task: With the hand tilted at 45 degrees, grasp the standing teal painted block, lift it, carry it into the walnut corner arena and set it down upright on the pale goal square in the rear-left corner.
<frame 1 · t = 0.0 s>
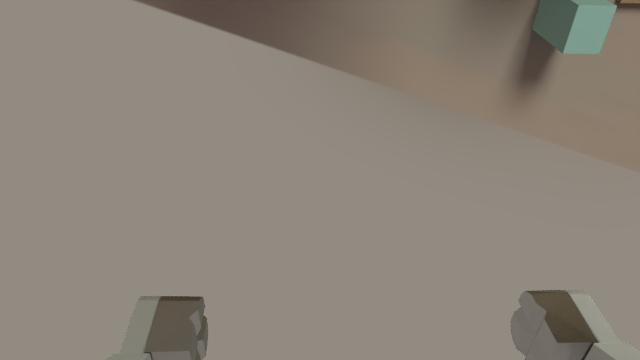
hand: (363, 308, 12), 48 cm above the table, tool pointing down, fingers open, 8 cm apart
teal block: (554, 8, 56), on the table
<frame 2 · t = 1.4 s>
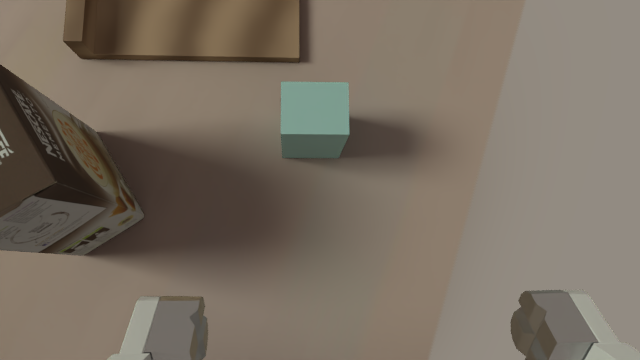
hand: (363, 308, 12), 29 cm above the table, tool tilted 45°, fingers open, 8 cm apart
coffee box: (89, 191, 41), on the table
teal block: (310, 136, 43), on the table
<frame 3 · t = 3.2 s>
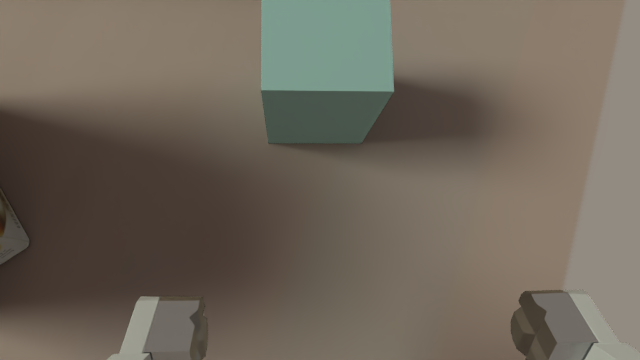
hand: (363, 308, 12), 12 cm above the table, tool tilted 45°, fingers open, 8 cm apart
teal block: (314, 107, 26), on the table
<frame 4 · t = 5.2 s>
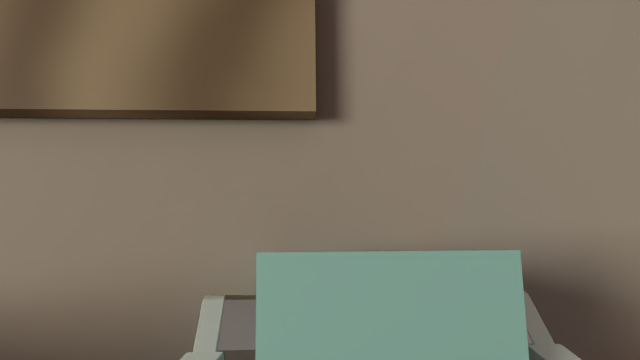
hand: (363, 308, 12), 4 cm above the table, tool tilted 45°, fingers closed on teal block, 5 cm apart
teal block: (345, 316, 17), on the table, touching gripper
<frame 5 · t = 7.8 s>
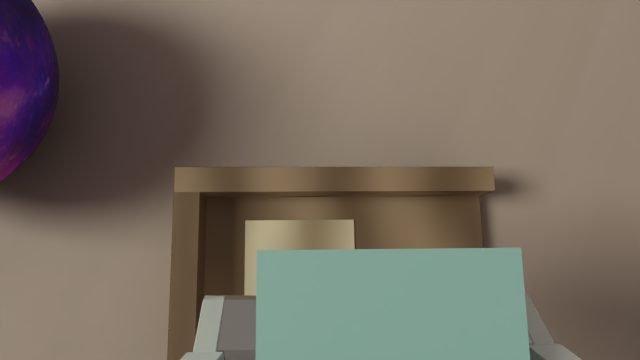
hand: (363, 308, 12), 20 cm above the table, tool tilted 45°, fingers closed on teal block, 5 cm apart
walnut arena: (346, 321, 31), on the table
teal block: (345, 314, 17), point 15 cm above the table, touching gripper
when the fingers open (7 cm above the table, at t = 10.7 s): teal block drops 1 cm, resting on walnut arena.
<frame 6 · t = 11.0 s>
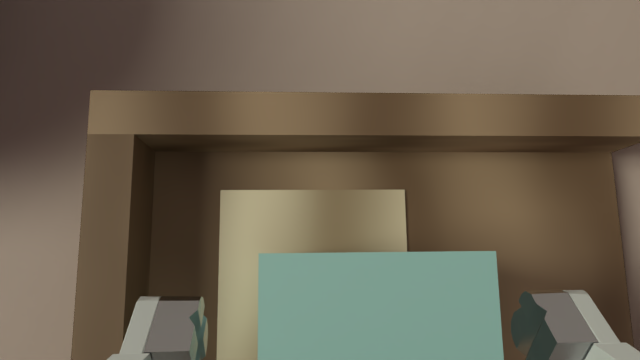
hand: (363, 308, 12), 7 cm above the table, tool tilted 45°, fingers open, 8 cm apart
teal block: (341, 312, 18), point 1 cm above the table, touching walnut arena
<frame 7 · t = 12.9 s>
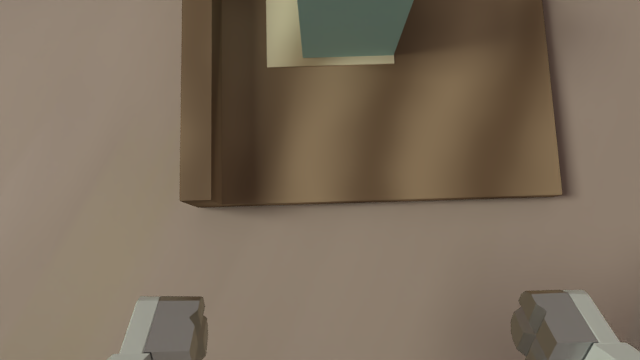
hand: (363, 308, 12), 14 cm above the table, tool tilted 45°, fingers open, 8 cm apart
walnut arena: (382, 62, 28), on the table
teal block: (346, 22, 27), point 1 cm above the table, touching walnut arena
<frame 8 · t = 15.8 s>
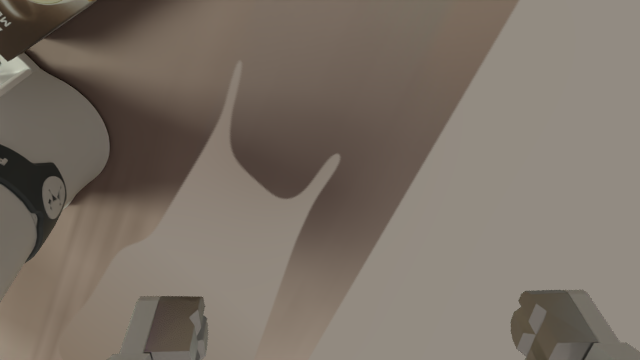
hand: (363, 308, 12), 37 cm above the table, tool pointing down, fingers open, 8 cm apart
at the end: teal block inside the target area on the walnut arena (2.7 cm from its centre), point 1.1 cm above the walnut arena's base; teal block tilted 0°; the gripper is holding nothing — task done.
